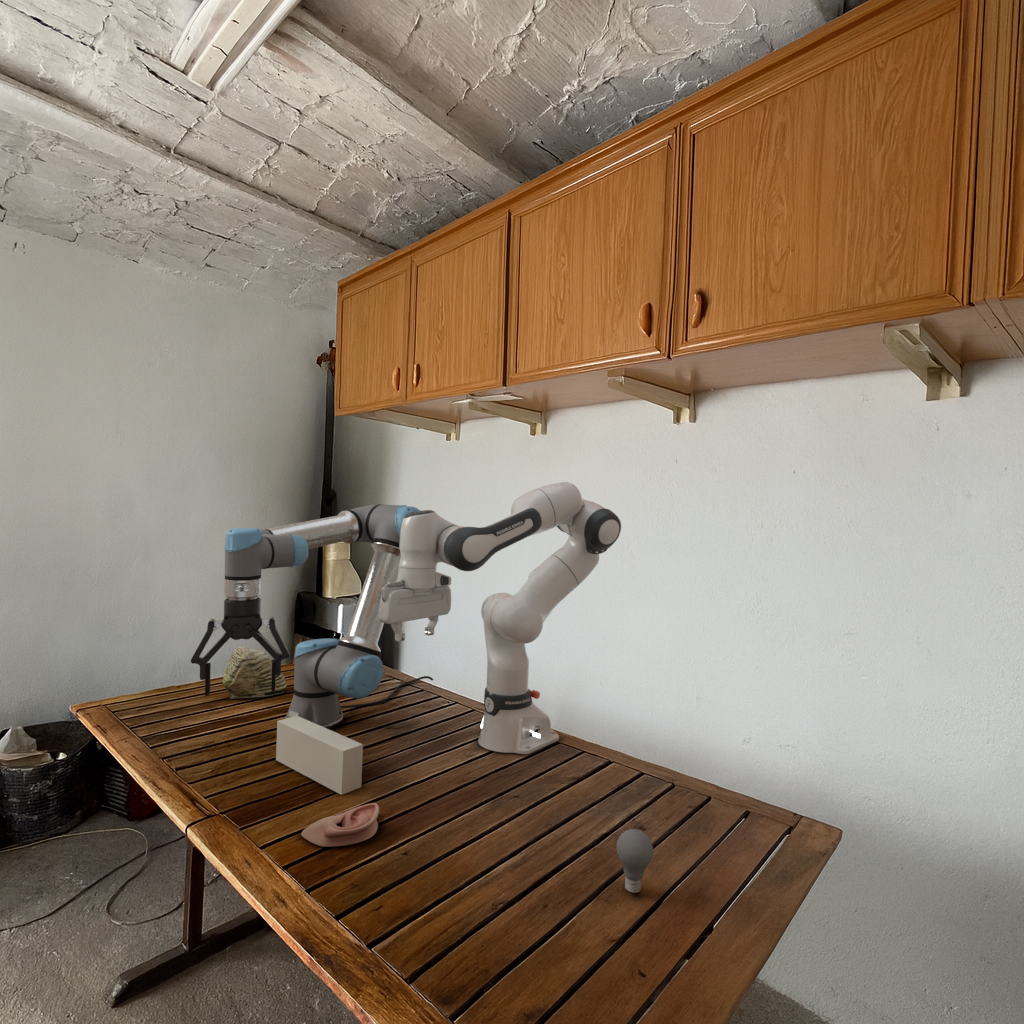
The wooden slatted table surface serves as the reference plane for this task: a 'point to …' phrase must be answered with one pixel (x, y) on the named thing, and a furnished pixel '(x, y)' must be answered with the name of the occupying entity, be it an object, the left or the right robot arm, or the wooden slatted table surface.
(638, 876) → the light bulb
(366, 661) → the left robot arm
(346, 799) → the wooden slatted table surface
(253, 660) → the fossil
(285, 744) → the bar
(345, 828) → the anatomical model
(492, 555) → the right robot arm
